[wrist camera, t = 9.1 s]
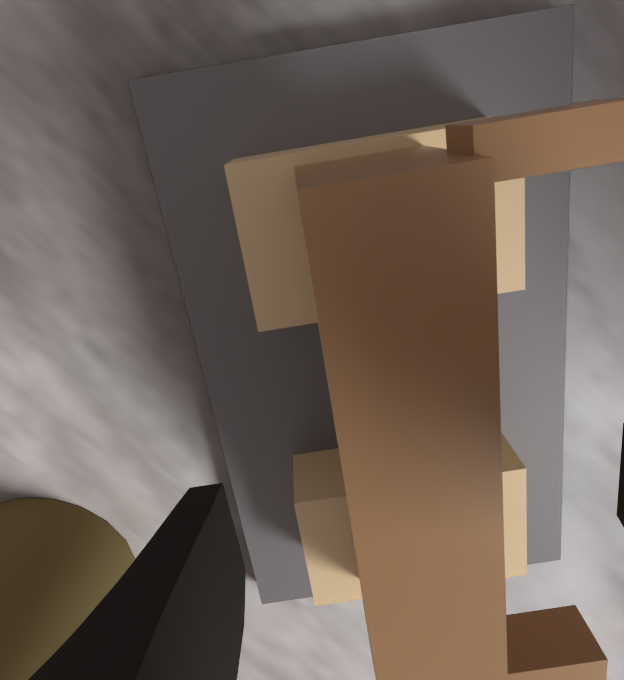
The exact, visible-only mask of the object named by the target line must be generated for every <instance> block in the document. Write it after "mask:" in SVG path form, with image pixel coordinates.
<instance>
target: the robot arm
mask: <svg viewBox="0 0 624 680" xmlns="http://www.w3.org/2000/svg"><path fill="white" fill-rule="evenodd" d="M617 516H618V518H619V520H620V521H621V523H622V525H623V527H624V423H623V436H622V450H621V464H620V477H619V491H618V505H617ZM244 610H245V566H244V562H243V558H242V554H241V551H240V547H239V543H238V539H237V535H236V532H235V528H234V524H233V520H232V516H231V513H230V509H229V505H228V501H227V497H226V494H225V490H224V486H223V483H219V484H213V485H206V486H199V487H193V488H189V490H188V491H187V492H186V493H185V495H184V496H183V497H182V498H181V500H180V501H179V502H178V504H177V505H176V506H175V508H174V509H173V510H172V512H171V513H170V514H169V516H168V517H167V518H166V520H165V521H164V522H163V524H162V525H161V526H160V528H159V529H158V530H157V532H156V533H155V534H154V536H153V537H152V538H151V540H150V541H149V542H148V544H147V545H146V546H145V547H144V549H143V550H142V551H141V553H140V554H139V555H138V556H137V558H136V559H135V560H134V561H133V563H132V564H131V565H130V567H129V568H128V569H127V570H126V572H125V573H124V574H123V575H122V577H121V578H120V579H119V580H118V582H117V583H116V584H115V585H114V586H113V588H112V589H111V590H110V591H109V592H108V593H107V595H106V596H105V597H104V598H103V599H102V600H101V602H100V603H99V604H98V605H97V606H96V607H95V609H94V610H93V611H92V612H91V613H90V614H89V616H88V617H87V618H86V619H85V620H84V621H83V623H82V624H81V625H80V626H79V627H78V628H77V629H76V630H75V632H74V633H73V634H72V635H71V636H70V637H69V638H68V639H67V640H66V641H65V642H64V643H63V644H62V645H61V647H60V648H59V649H58V650H57V651H56V652H55V653H54V654H53V655H52V656H51V657H50V658H49V659H48V660H47V661H46V662H45V663H44V664H43V665H42V666H41V667H40V668H39V669H38V670H37V671H36V672H35V673H34V674H33V675H32V676H31V677H30V678H29V679H28V680H237V673H238V666H239V658H240V651H241V644H242V637H243V629H244Z"/></svg>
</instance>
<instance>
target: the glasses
mask: <svg viewBox="0 0 624 680" xmlns="http://www.w3.org/2000/svg"><path fill="white" fill-rule="evenodd" d="M445 129H446V146H447V149H443V148H437V147H431V146H425V145H421V146H415V147H409V148H403V149H397V150H391V151H385V152H379V153H373V154H367V155H361V156H355V157H349V158H343V159H337V160H331V161H325V162H319V163H313V164H307V165H301V166H295V167H294V169H295V177H296V185H297V193H298V199H299V205H300V211H301V218H302V224H303V230H304V237H305V244H306V251H307V258H308V264H309V270H310V276H311V282H312V289H313V295H314V301H315V307H316V313H317V320H318V326H319V332H320V338H321V344H322V350H323V357H324V363H325V369H326V375H327V381H328V388H329V394H330V400H331V406H332V412H333V419H334V425H335V431H336V437H337V443H338V447H339V453H340V460H341V466H342V472H343V478H344V484H345V491H346V497H347V503H348V510H349V516H350V523H351V529H352V536H353V542H354V549H355V555H356V561H357V567H358V573H359V580H360V586H361V592H362V598H363V604H364V611H365V617H366V623H367V629H368V635H369V641H370V648H371V654H372V660H373V665H374V670H375V677H376V680H606V676H607V662H608V659H607V658H606V656H605V654H604V653H603V651H602V649H601V648H600V646H599V644H598V643H597V641H596V639H595V638H594V636H593V634H592V633H591V631H590V629H589V627H588V626H587V624H586V622H585V621H584V619H583V617H582V616H581V614H580V612H579V611H578V609H577V607H576V606H575V605H572V606H565V607H558V608H552V609H545V610H538V611H531V612H524V613H518V614H511V615H506V593H505V556H504V518H503V481H502V444H501V406H500V369H499V332H498V294H497V257H496V220H495V182H500V181H506V180H512V179H519V178H525V177H531V176H537V175H543V174H549V173H555V172H561V171H567V170H573V169H579V168H585V167H592V166H598V165H604V164H610V163H616V162H622V161H624V98H618V99H604V100H593V101H587V102H581V103H575V104H569V105H563V106H557V107H551V108H545V109H539V110H533V111H527V112H521V113H515V114H509V115H503V116H497V117H491V118H485V119H479V120H473V121H467V122H461V123H455V124H449V125H445Z"/></svg>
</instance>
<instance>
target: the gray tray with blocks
mask: <svg viewBox="0 0 624 680" xmlns="http://www.w3.org/2000/svg"><path fill="white" fill-rule="evenodd" d="M573 24H574V4H572V5H566V6H560V7H554V8H548V9H542V10H536V11H531V12H525V13H519V14H513V15H507V16H501V17H495V18H489V19H484V20H478V21H472V22H466V23H460V24H454V25H448V26H443V27H437V28H431V29H425V30H419V31H413V32H407V33H401V34H396V35H390V36H384V37H378V38H372V39H366V40H360V41H355V42H349V43H343V44H337V45H331V46H325V47H319V48H313V49H308V50H302V51H296V52H290V53H284V54H278V55H272V56H267V57H261V58H255V59H249V60H243V61H237V62H231V63H225V64H220V65H214V66H208V67H202V68H196V69H190V70H184V71H179V72H173V73H167V74H161V75H155V76H149V77H143V78H138V79H132V80H128V84H129V88H130V92H131V96H132V100H133V103H134V107H135V111H136V115H137V119H138V123H139V127H140V131H141V135H142V138H143V142H144V146H145V150H146V154H147V158H148V162H149V166H150V170H151V174H152V177H153V181H154V185H155V189H156V193H157V197H158V201H159V205H160V209H161V212H162V216H163V220H164V224H165V228H166V232H167V236H168V240H169V244H170V247H171V251H172V255H173V259H174V263H175V267H176V271H177V275H178V279H179V283H180V286H181V290H182V294H183V298H184V302H185V306H186V310H187V314H188V318H189V321H190V325H191V329H192V333H193V337H194V341H195V345H196V349H197V353H198V356H199V360H200V364H201V368H202V372H203V376H204V380H205V384H206V388H207V392H208V395H209V399H210V403H211V407H212V411H213V415H214V419H215V423H216V427H217V430H218V434H219V438H220V442H221V446H222V450H223V454H224V458H225V462H226V465H227V469H228V473H229V477H230V481H231V485H232V489H233V493H234V497H235V501H236V504H237V508H238V512H239V516H240V520H241V524H242V528H243V532H244V536H245V539H246V543H247V547H248V551H249V555H250V559H251V563H252V567H253V571H254V574H255V578H256V582H257V586H258V590H259V594H260V598H261V602H262V604H266V603H273V602H279V601H286V600H293V599H300V598H306V597H313V599H314V603H315V606H320V605H327V604H333V603H340V602H347V601H354V600H360V599H363V598H362V592H361V586H360V580H359V573H358V567H357V561H356V555H355V549H354V542H353V536H352V529H351V523H350V516H349V510H348V503H347V497H346V491H345V484H344V478H343V472H342V466H341V460H340V453H339V447H338V443H337V437H336V431H335V425H334V419H333V412H332V406H331V400H330V394H329V388H328V381H327V375H326V369H325V363H324V357H323V350H322V344H321V338H320V332H319V326H318V320H317V313H316V307H315V301H314V295H313V289H312V282H311V276H310V270H309V264H308V258H307V251H306V244H305V237H304V230H303V224H302V218H301V211H300V205H299V199H298V193H297V185H296V177H295V169H294V167H295V166H301V165H307V164H313V163H319V162H325V161H331V160H337V159H343V158H349V157H355V156H361V155H367V154H373V153H379V152H385V151H391V150H397V149H403V148H409V147H415V146H421V145H425V146H431V147H437V148H443V149H447V146H446V129H445V125H449V124H455V123H461V122H467V121H473V120H479V119H485V118H491V117H497V116H503V115H509V114H515V113H521V112H527V111H533V110H539V109H545V108H551V107H557V106H563V105H569V104H572V65H573ZM569 188H570V170H567V171H561V172H555V173H549V174H543V175H537V176H531V177H525V178H519V179H512V180H506V181H500V182H495V220H496V257H497V294H498V332H499V369H500V406H501V444H502V481H503V518H504V556H505V578H508V577H515V576H522V575H527V565H528V564H535V563H541V562H548V561H555V560H560V556H561V515H562V474H563V434H564V393H565V352H566V311H567V270H568V229H569Z"/></svg>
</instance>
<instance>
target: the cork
mask: <svg viewBox="0 0 624 680" xmlns="http://www.w3.org/2000/svg"><path fill="white" fill-rule="evenodd" d="M134 560H135V557H134V555H133V553H132V551H131V549H130V547H129V545H128V543H127V541H126V540H125V539H124V538H123V537H122V536H121V535H120V534H119V533H118V532H117V531H116V530H115V529H114V528H113V527H112V526H111V525H110V524H109V523H108V522H107V521H105V520H103V519H102V518H100V517H98V516H96V515H95V514H93V513H91V512H89V511H87V510H86V509H84V508H82V507H79V506H76V505H72V504H68V503H65V502H61V501H57V500H54V499H33V498H20V499H16V500H11V501H7V502H3V503H0V680H28V679H29V678H30V677H31V676H32V675H33V674H34V673H35V672H36V671H37V670H38V669H39V668H40V667H41V666H42V665H43V664H44V663H45V662H46V661H47V660H48V659H49V658H50V657H51V656H52V655H53V654H54V653H55V652H56V651H57V650H58V649H59V648H60V647H61V645H62V644H63V643H64V642H65V641H66V640H67V639H68V638H69V637H70V636H71V635H72V634H73V633H74V632H75V630H76V629H77V628H78V627H79V626H80V625H81V624H82V623H83V621H84V620H85V619H86V618H87V617H88V616H89V614H90V613H91V612H92V611H93V610H94V609H95V607H96V606H97V605H98V604H99V603H100V602H101V600H102V599H103V598H104V597H105V596H106V595H107V593H108V592H109V591H110V590H111V589H112V588H113V586H114V585H115V584H116V583H117V582H118V580H119V579H120V578H121V577H122V575H123V574H124V573H125V572H126V570H127V569H128V568H129V567H130V565H131V564H132V563H133V561H134Z"/></svg>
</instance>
